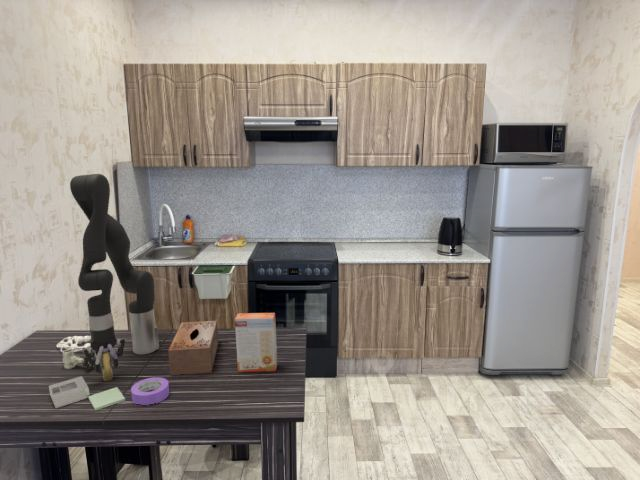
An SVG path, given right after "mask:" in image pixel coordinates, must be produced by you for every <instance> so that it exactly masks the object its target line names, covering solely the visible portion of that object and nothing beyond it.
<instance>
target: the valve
mask: <svg viewBox="0 0 640 480" xmlns="http://www.w3.org/2000/svg"><path fill="white" fill-rule="evenodd" d="M62 351H63V352H62V362H63V368H64V369H66V370H71V369H74V368H75V367H76V365H77V364H80V363H81V364H82V363H83V364H82V366H83V367H86V368H84V370H85V371H91V370H92V371H93V370H94V367H95V364H89V362H88V360H87V358H86V356H84V358H83V357H81V356H80V355H75V352H74V350H73V349H69V348H68V349H64V350H62ZM89 355H90V357H91V359H94V357H95V352H90V353H89Z"/></svg>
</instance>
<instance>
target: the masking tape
mask: <svg viewBox="0 0 640 480" xmlns="http://www.w3.org/2000/svg"><path fill="white" fill-rule="evenodd" d="M169 384H170V383H169V380H168V379H167V378H165V377H157V376H156V377H148V378H145V379H141V380H139V381H137V382H136V383H134V384H133V385H132V386H131V387H130V388H131V389H130V394H131V402H132V403H133V402H134V403H136V404H141V405H147V406H150V405H149V404H153V405H155V404H154V403H156V404H159V403H161V402H163V401H164V400H166V399H167V398H168V397H169V396H170V385H169ZM151 390H152V391H151ZM158 402H159V403H158ZM134 403H133V404H134ZM136 404H135V405H136ZM141 405H140V406H141Z"/></svg>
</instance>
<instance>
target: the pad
mask: <svg viewBox="0 0 640 480" xmlns="http://www.w3.org/2000/svg"><path fill="white" fill-rule="evenodd" d="M87 399H88V400H89V402H90V403H91V404H90V405H92V406H91V407H93V409H94V411H98V410H102V409H104V408H107V407H110V406H113V405H116V404H118V403H122V402H125V401H126V397H124V395H123V393H122V392H121V390H120V389H119V388H118V386H116V387H113V388H110V389H106V390H104V391H101V392H97V393H94V394H90V396H88V398H87Z"/></svg>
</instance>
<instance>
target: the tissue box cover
mask: <svg viewBox="0 0 640 480" xmlns="http://www.w3.org/2000/svg"><path fill="white" fill-rule="evenodd" d="M218 346H219V329H218V320H205V321H185V322H183V321H182V322H181V323H180V325H179V326H178V328H177V331H176V332H175V335H174V337H173V340H172V342H171V343H170V346H169V348H168V351H167V352H168V364H169V372H170V376H181V375H180V374H184V375H197V373H198V374H211V373H212V372H213V371H212V370H213V366H214V363H215V359H216V354H217V349H218Z"/></svg>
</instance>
